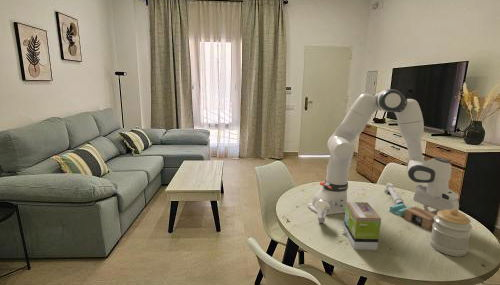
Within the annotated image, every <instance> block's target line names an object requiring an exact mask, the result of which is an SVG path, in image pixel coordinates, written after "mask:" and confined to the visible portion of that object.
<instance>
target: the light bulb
mask: <svg viewBox="0 0 500 285" xmlns="http://www.w3.org/2000/svg"><path fill="white" fill-rule="evenodd" d="M315 209H316V211H317V213H316V214H317V221H318V222H319V224H323V223H325V221H326V220H325V219H326V216H327V215H326V214H327V213H328V212H329V209H330V205H329V203H328V202H327V201H326V200H324V199H320V200H318V201H317V202H316V204H315Z"/></svg>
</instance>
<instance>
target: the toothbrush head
mask: <svg viewBox="0 0 500 285" xmlns="http://www.w3.org/2000/svg"><path fill="white" fill-rule="evenodd" d="M384 193H385V194H387V195H390V196H391V197H392V199H393V201H394V205H397V204H401V203H403V204H405V202H404V200H403V198H401V197H400V195H399V194H398V192H397V191H396V189H395V188H394V184H393V183H391V182H387V183H386V186H384Z"/></svg>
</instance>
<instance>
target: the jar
mask: <svg viewBox="0 0 500 285" xmlns="http://www.w3.org/2000/svg"><path fill="white" fill-rule="evenodd" d="M434 221H435V222H434V223H433V225H432V226H433V227H432V229H431V233H430V234H431V235H430V236H429V243H430V246H431V247H432V248H433V249H434V250H436V251H438V252H440V253H442V254H444V255H448V256H452V257H464V256H466V254H467V252H468V250H469V248H468V247H469V242H470V237H471V232H470V231H472V229H473V226H472V224H471V221H472V220H471V219H470V218H469V217H467V216H466V215H465V213H462V212H459V211H458V210H457V209H451V210H442V211H438V212H437V215H436V216H434Z"/></svg>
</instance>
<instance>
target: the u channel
mask: <svg viewBox="0 0 500 285" xmlns="http://www.w3.org/2000/svg"><path fill="white" fill-rule="evenodd" d="M412 207H413V206H408V207H407V206H406V204H405V203H404V204H403V203H401V204H397V205H396V204H394V205H390V207H389V212H390V213H392V214H394V215H396V216H399V217H403V216H405V210H406V209H408V208H412Z"/></svg>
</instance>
